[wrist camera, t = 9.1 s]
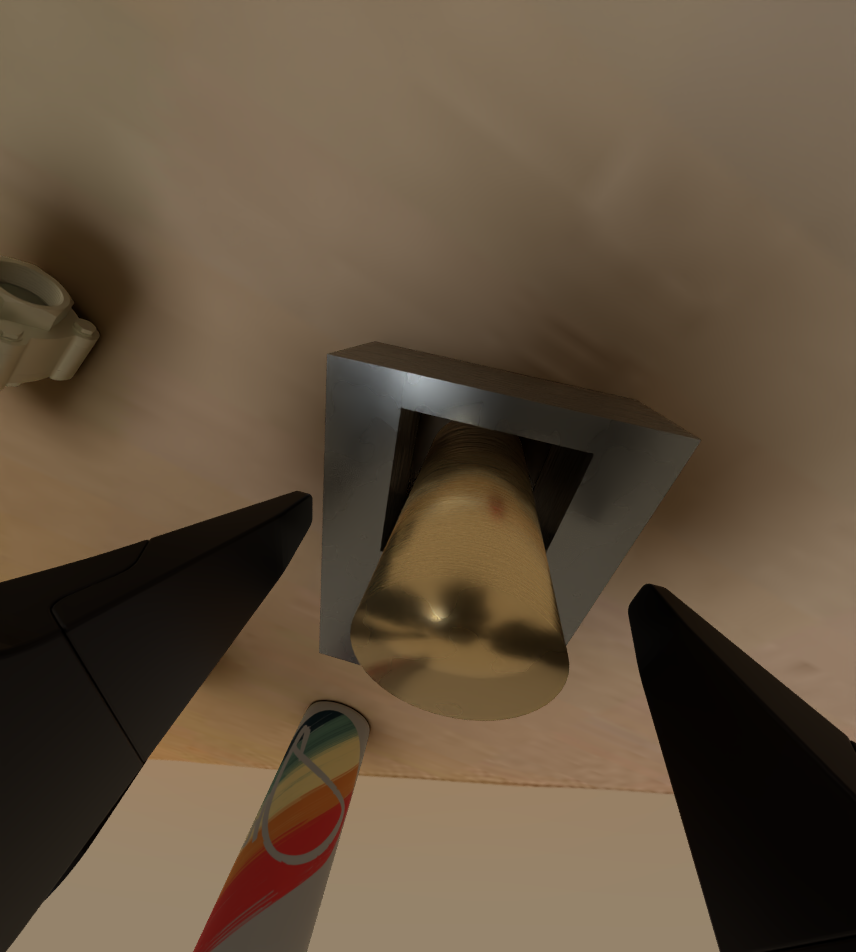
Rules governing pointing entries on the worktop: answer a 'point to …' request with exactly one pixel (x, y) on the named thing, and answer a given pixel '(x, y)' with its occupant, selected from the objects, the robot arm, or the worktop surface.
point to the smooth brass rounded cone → (465, 588)
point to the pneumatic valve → (38, 327)
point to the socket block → (502, 409)
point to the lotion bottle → (291, 839)
